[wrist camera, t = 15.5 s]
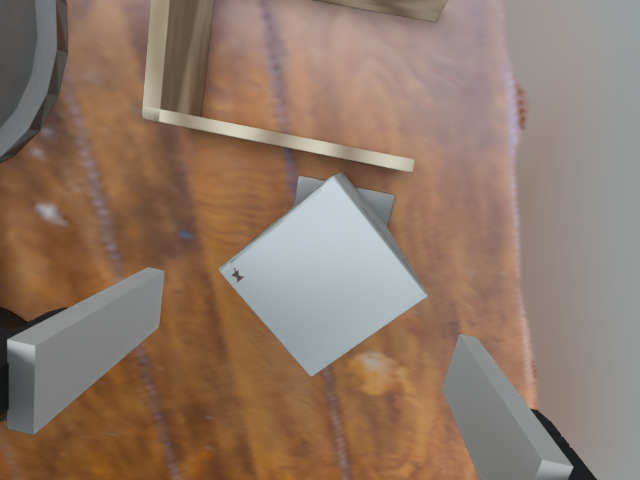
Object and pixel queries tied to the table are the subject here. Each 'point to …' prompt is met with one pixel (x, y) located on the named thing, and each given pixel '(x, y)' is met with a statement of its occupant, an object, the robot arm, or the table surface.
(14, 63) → the grey streaked cylinder
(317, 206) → the supplement box
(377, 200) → the plate
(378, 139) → the table surface
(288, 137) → the shelf bay
